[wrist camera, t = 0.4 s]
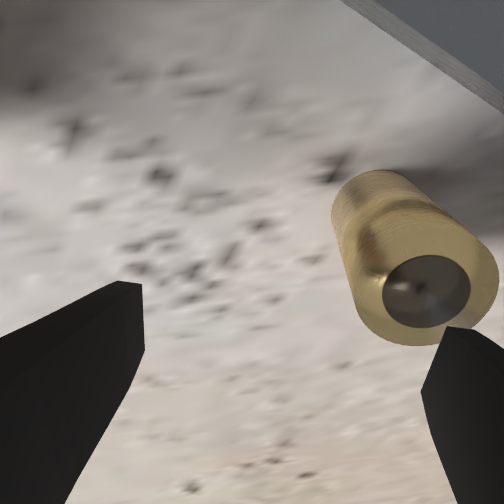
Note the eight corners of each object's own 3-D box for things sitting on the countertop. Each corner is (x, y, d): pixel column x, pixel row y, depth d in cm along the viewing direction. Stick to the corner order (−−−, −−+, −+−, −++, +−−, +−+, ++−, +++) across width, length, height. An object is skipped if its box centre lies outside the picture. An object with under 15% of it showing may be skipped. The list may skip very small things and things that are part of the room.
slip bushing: (439, 199, 16) (535, 276, 10) (382, 265, 18) (432, 368, 12) (366, 152, 16) (417, 202, 9) (314, 225, 17) (327, 310, 11)
